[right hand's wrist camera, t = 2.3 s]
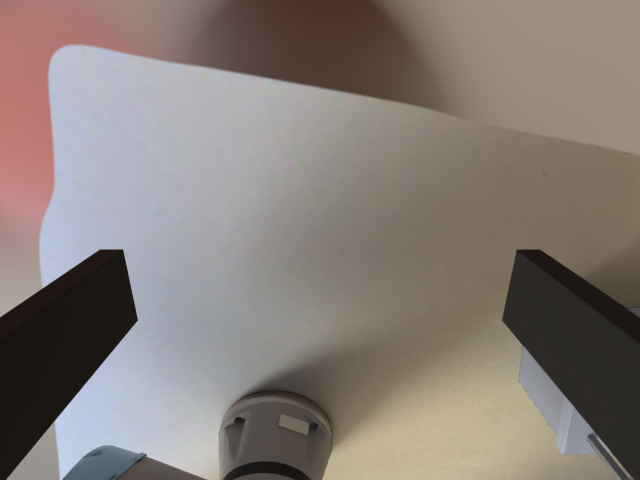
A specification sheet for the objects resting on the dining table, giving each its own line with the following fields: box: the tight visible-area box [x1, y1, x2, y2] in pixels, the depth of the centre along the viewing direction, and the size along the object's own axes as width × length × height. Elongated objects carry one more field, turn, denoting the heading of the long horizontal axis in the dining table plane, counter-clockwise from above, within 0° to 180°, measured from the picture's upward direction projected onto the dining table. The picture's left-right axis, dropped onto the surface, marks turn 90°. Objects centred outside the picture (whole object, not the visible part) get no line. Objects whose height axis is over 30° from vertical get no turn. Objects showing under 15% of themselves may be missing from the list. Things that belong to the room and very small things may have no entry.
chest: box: [519, 308, 640, 437], centre depth 41 cm, size 18×10×9 cm, turn 96°
